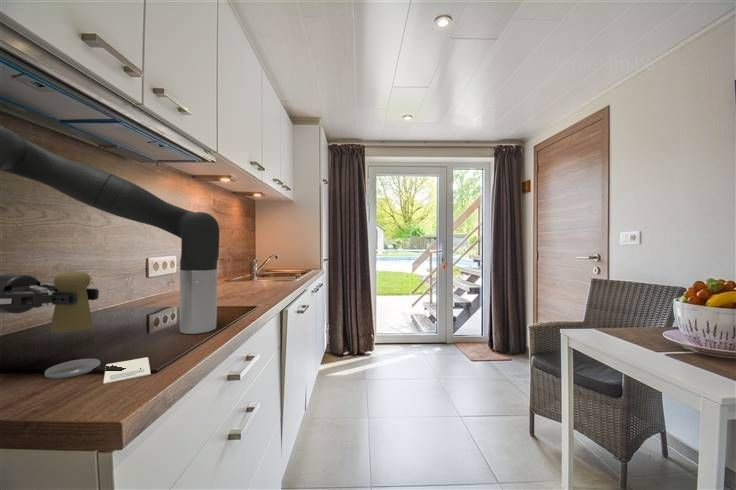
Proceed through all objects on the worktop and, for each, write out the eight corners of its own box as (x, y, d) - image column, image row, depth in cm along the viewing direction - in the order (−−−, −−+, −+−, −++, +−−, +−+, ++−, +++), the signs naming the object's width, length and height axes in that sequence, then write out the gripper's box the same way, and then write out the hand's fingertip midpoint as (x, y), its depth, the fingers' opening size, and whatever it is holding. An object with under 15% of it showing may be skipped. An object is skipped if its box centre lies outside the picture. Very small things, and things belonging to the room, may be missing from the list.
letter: (106, 365, 65) (106, 364, 65) (148, 357, 69) (148, 356, 69) (103, 384, 57) (103, 382, 57) (150, 374, 61) (150, 373, 61)
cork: (44, 328, 61) (45, 271, 61) (84, 322, 66) (85, 269, 66) (57, 334, 58) (58, 274, 58) (98, 326, 63) (99, 272, 63)
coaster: (49, 367, 63) (49, 364, 63) (101, 358, 68) (101, 355, 68) (40, 382, 57) (40, 379, 57) (98, 371, 62) (98, 368, 62)
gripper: (-48, 278, 55) (50, 282, 55) (39, 270, 69) (116, 273, 69) (-48, 321, 55) (49, 325, 55) (38, 304, 69) (116, 307, 69)
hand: (86, 296), depth 62 cm, fingers closed on cork, 4 cm apart
